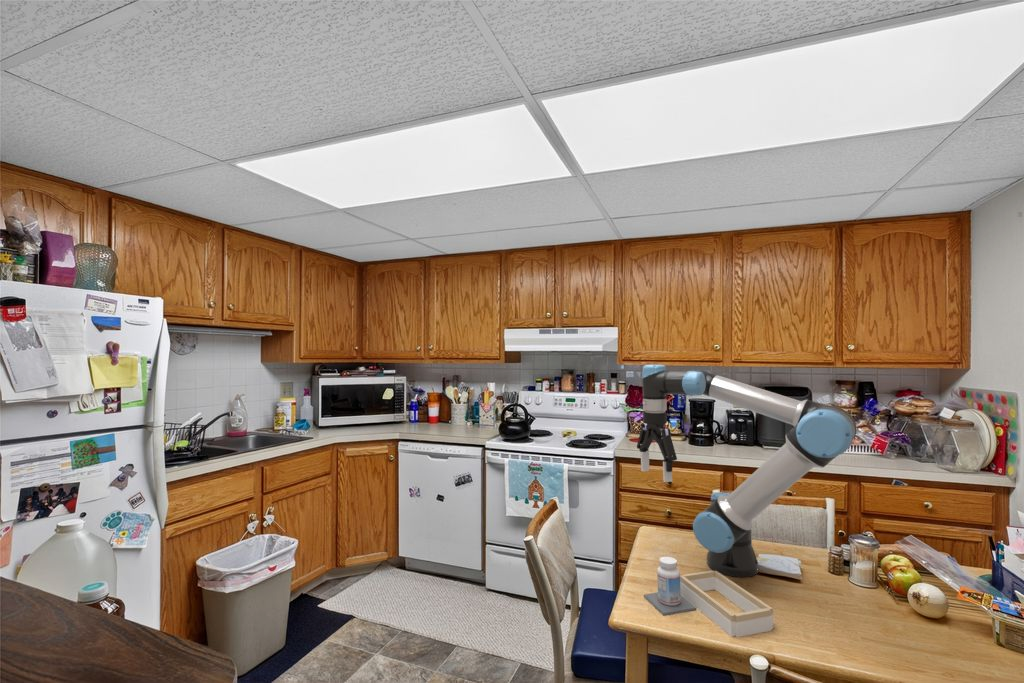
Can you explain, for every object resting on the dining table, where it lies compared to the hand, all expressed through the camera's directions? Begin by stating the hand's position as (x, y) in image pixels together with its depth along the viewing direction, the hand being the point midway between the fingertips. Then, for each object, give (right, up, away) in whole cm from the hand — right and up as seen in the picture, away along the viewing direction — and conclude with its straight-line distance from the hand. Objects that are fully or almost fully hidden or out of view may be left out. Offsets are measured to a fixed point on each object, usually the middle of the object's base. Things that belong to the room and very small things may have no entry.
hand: (656, 476), depth 155 cm
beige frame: (+10, -28, -28) cm, 41 cm away
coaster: (-4, -28, -24) cm, 38 cm away
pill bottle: (-4, -28, -24) cm, 37 cm away
